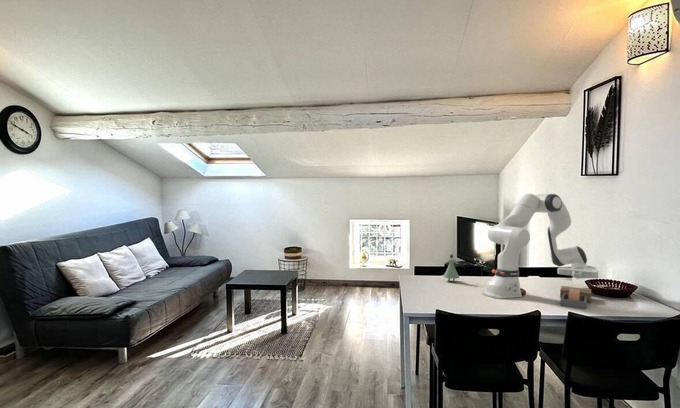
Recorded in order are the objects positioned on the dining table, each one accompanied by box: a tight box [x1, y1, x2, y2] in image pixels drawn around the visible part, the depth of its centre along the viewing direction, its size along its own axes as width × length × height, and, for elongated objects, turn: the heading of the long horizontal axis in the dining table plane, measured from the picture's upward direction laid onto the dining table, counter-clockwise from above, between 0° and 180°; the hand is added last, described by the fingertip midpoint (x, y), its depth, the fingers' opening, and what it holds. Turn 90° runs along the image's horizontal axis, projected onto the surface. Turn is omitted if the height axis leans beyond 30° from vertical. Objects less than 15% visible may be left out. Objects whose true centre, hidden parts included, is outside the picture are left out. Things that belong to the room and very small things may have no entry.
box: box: [560, 293, 588, 310], centre depth 202 cm, size 15×11×4 cm
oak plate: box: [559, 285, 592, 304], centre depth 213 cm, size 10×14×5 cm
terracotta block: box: [569, 289, 580, 301], centre depth 203 cm, size 6×4×10 cm
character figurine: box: [441, 254, 464, 282], centre depth 254 cm, size 16×8×18 cm, turn 80°
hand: (576, 274), depth 219 cm, fingers closed
